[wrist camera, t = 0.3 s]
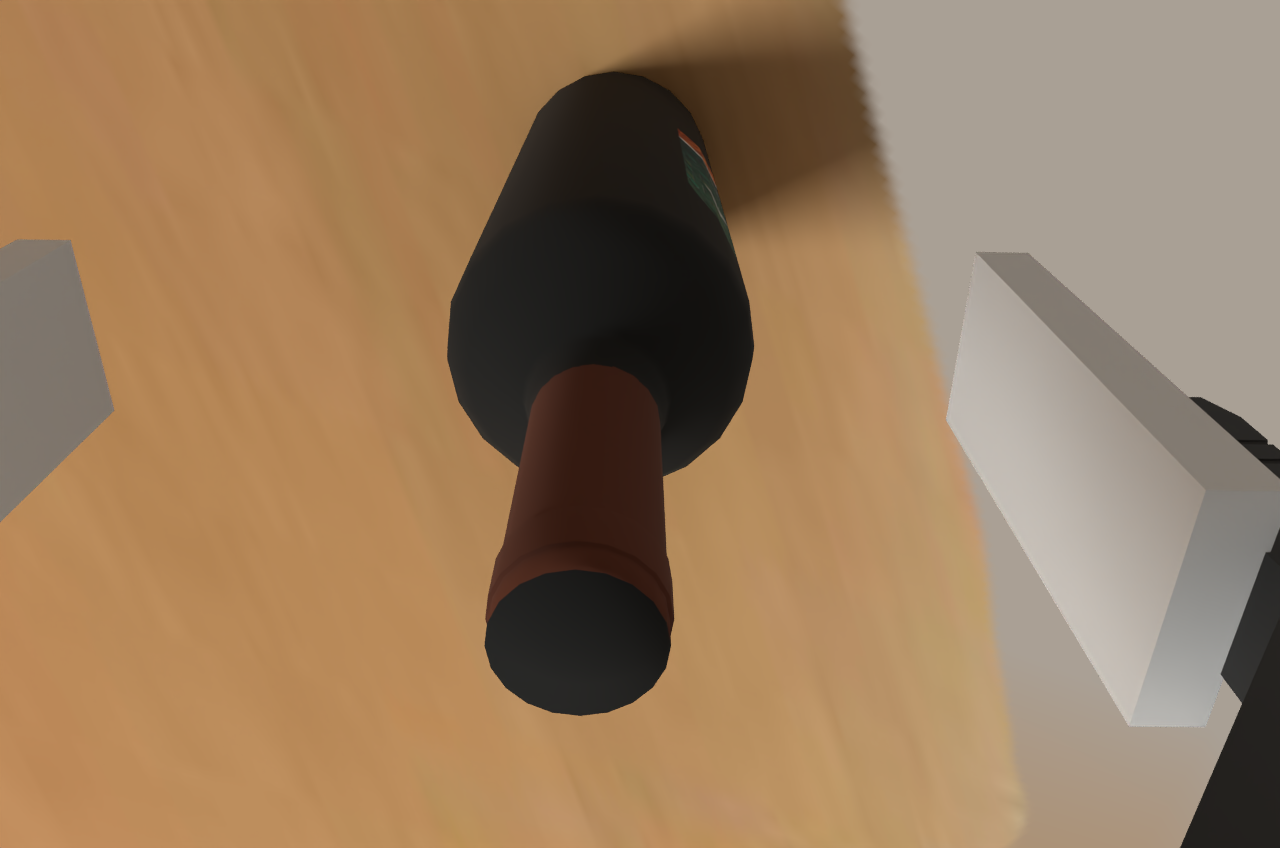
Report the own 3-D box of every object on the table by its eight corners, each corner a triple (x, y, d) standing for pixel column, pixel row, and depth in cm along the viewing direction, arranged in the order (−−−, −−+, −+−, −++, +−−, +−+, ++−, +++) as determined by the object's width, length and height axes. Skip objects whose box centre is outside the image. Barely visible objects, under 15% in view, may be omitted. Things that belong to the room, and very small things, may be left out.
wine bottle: (591, 31, 39) (498, 309, 12) (743, 147, 41) (944, 599, 14) (488, 187, 42) (228, 689, 15) (635, 289, 44) (634, 886, 17)
